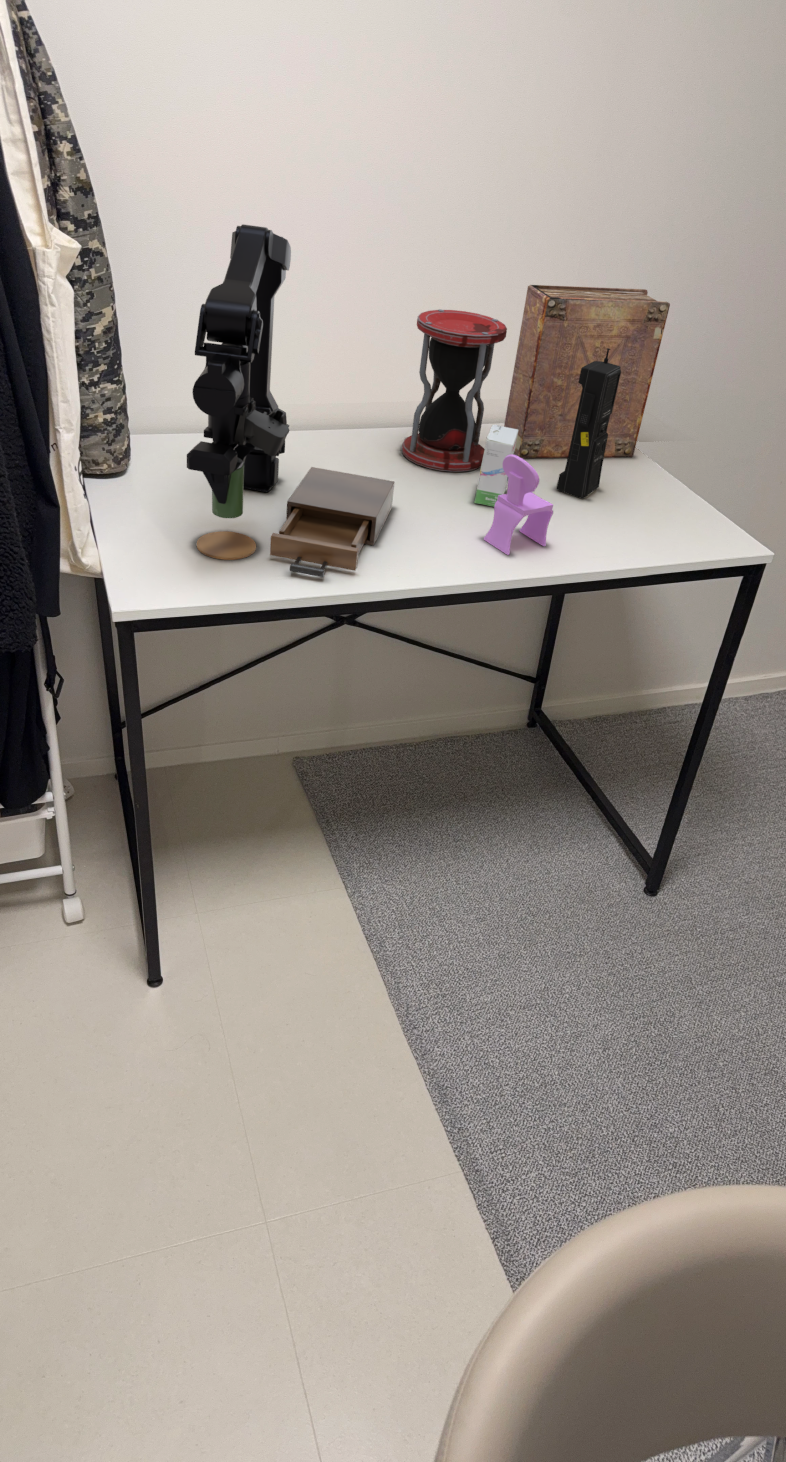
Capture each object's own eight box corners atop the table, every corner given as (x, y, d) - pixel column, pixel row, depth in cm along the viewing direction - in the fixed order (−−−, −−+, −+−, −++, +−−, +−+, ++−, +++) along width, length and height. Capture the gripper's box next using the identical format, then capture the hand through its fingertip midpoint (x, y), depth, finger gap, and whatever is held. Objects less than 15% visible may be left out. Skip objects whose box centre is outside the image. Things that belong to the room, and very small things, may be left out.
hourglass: (430, 476, 191) (449, 336, 177) (386, 444, 202) (400, 310, 188) (501, 467, 199) (525, 332, 184) (455, 437, 210) (474, 307, 195)
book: (612, 440, 218) (648, 289, 201) (633, 457, 211) (672, 302, 194) (500, 441, 211) (527, 284, 193) (518, 458, 204) (548, 297, 186)
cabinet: (373, 545, 165) (376, 517, 163) (285, 529, 167) (287, 501, 164) (391, 508, 178) (394, 481, 175) (309, 493, 179) (311, 466, 176)
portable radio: (583, 502, 189) (614, 362, 175) (553, 492, 192) (581, 353, 177) (599, 489, 195) (631, 353, 180) (570, 480, 197) (599, 345, 183)
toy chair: (551, 548, 172) (570, 460, 163) (511, 557, 167) (529, 468, 159) (518, 527, 177) (535, 442, 168) (479, 536, 172) (494, 449, 164)
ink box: (479, 486, 190) (490, 422, 183) (507, 491, 190) (519, 427, 183) (473, 503, 183) (484, 438, 176) (502, 509, 183) (514, 443, 176)
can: (237, 520, 155) (238, 469, 150) (207, 515, 155) (207, 463, 150) (246, 508, 158) (248, 458, 154) (217, 503, 159) (218, 452, 154)
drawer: (349, 583, 153) (351, 562, 151) (262, 567, 154) (263, 546, 152) (374, 533, 168) (376, 513, 166) (294, 519, 169) (295, 499, 167)
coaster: (188, 553, 157) (188, 551, 156) (207, 529, 164) (207, 527, 164) (246, 564, 156) (246, 561, 156) (263, 539, 163) (263, 537, 163)
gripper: (265, 423, 138) (261, 532, 147) (301, 382, 153) (296, 483, 162) (184, 409, 139) (185, 518, 148) (228, 370, 154) (227, 470, 163)
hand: (227, 496), depth 155 cm, fingers closed on can, 4 cm apart
